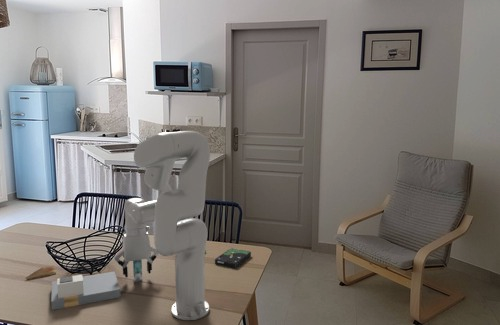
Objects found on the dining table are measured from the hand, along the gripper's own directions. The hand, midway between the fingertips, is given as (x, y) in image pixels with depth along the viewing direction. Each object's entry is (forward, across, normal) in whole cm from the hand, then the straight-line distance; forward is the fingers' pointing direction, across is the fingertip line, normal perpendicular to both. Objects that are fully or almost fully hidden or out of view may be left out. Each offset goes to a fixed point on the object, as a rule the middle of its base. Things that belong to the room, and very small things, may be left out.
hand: (137, 273), depth 159 cm
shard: (+3, +33, -20) cm, 39 cm away
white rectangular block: (0, +24, +7) cm, 25 cm away
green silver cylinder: (+3, 0, 0) cm, 3 cm away
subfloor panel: (+3, +19, +3) cm, 19 cm away
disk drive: (+3, -42, -3) cm, 42 cm away
